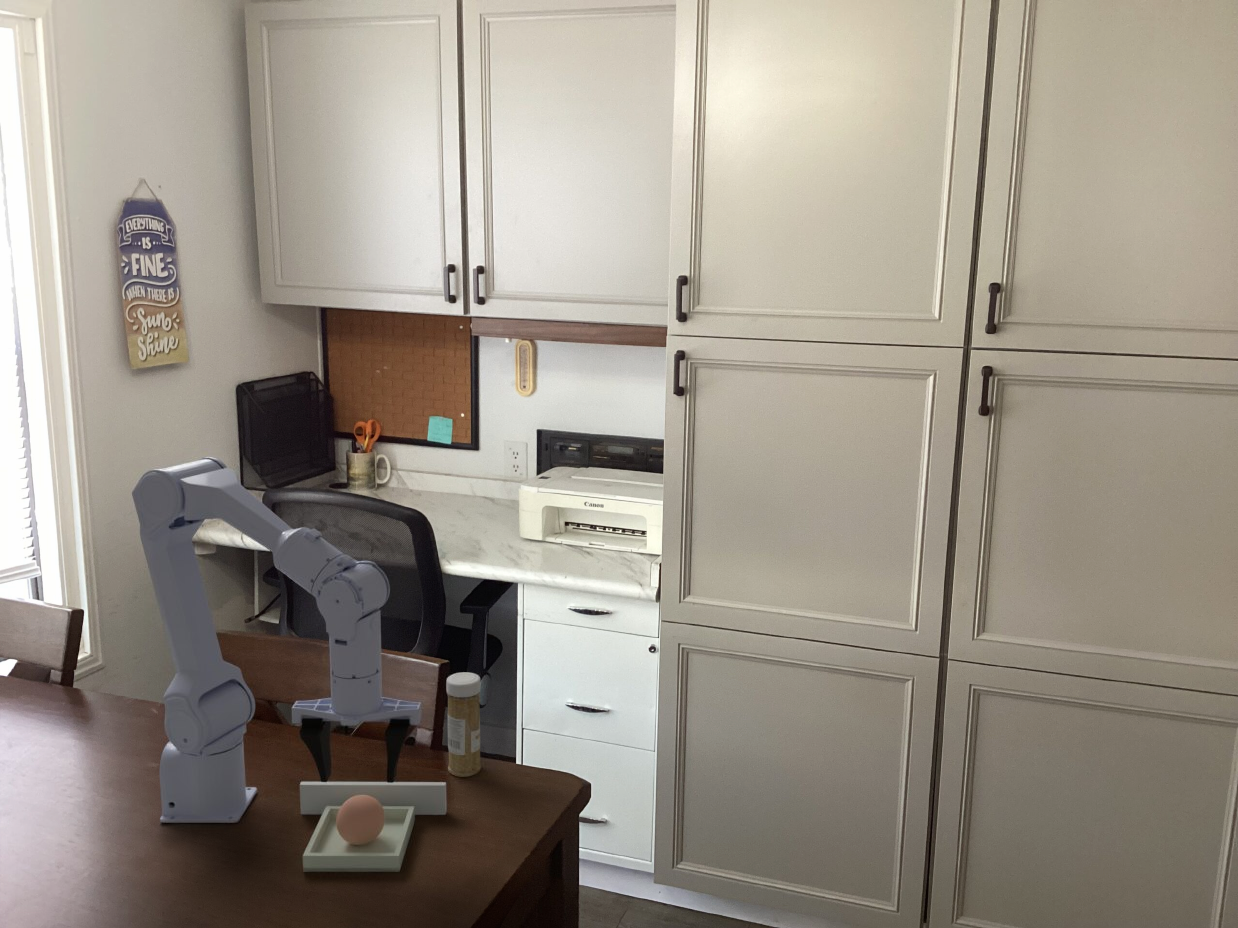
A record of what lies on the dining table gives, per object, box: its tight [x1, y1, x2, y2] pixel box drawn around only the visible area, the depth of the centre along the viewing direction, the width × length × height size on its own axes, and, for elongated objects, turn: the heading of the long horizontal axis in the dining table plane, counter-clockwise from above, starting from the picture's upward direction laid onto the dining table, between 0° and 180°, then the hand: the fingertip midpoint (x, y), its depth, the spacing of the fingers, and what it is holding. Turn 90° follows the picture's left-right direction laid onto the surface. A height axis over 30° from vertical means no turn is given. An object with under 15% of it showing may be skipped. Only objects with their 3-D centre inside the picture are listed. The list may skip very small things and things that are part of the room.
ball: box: [336, 795, 385, 845], centre depth 121 cm, size 6×6×6 cm
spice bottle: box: [445, 671, 482, 778], centre depth 139 cm, size 5×5×14 cm
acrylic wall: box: [299, 781, 447, 816], centre depth 128 cm, size 18×1×4 cm, turn 92°
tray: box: [302, 806, 416, 873], centre depth 121 cm, size 11×11×2 cm
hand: (358, 778), depth 120 cm, fingers open, 7 cm apart
